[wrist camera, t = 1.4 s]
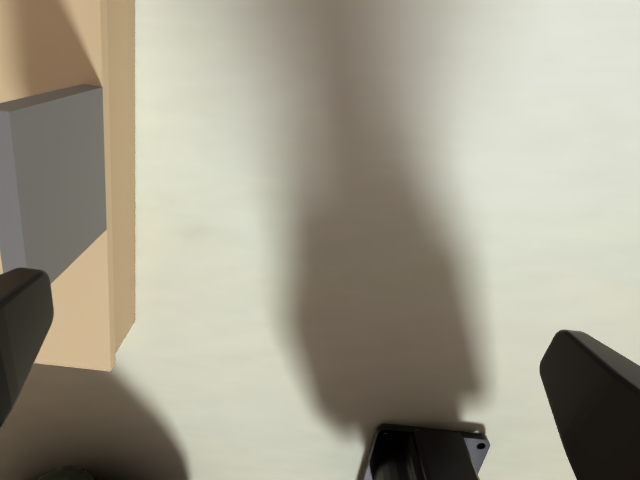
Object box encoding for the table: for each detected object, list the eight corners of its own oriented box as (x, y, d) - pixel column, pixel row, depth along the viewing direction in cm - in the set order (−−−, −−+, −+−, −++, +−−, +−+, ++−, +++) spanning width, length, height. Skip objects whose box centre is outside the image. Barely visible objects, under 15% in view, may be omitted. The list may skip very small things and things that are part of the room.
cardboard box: (135, 320, 22) (111, 360, 20) (-37, 300, 22) (-86, 338, 19) (134, -129, 15) (96, -164, 12) (-124, -181, 14) (-224, -231, 12)
